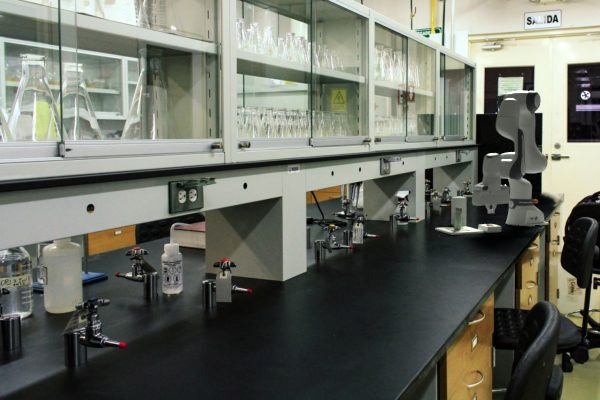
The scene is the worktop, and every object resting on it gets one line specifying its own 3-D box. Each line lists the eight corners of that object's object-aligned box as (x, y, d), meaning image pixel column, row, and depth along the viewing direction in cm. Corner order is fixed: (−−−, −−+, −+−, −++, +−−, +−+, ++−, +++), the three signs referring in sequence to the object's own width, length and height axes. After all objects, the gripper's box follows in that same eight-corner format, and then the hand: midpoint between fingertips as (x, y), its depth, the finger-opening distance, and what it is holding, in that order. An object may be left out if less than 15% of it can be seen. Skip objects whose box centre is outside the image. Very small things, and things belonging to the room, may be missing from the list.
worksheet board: (465, 228, 321) (466, 226, 321) (483, 233, 306) (484, 230, 306) (435, 229, 316) (435, 227, 316) (452, 234, 301) (452, 232, 301)
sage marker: (458, 228, 313) (459, 207, 312) (462, 229, 310) (463, 207, 309) (453, 228, 311) (454, 207, 311) (457, 229, 308) (458, 207, 308)
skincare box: (466, 227, 326) (467, 197, 324) (453, 226, 326) (454, 197, 324) (462, 224, 334) (463, 196, 333) (450, 224, 334) (451, 196, 333)
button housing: (491, 229, 317) (491, 223, 316) (501, 232, 309) (501, 226, 309) (478, 230, 314) (478, 224, 314) (487, 232, 307) (487, 226, 306)
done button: (490, 228, 314) (490, 224, 313) (494, 229, 311) (494, 224, 310) (485, 229, 313) (485, 224, 312) (488, 230, 310) (488, 225, 309)
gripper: (505, 184, 315) (504, 210, 317) (470, 186, 309) (470, 213, 311) (513, 185, 310) (512, 212, 311) (477, 187, 303) (477, 215, 305)
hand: (490, 213), depth 311 cm, fingers closed
